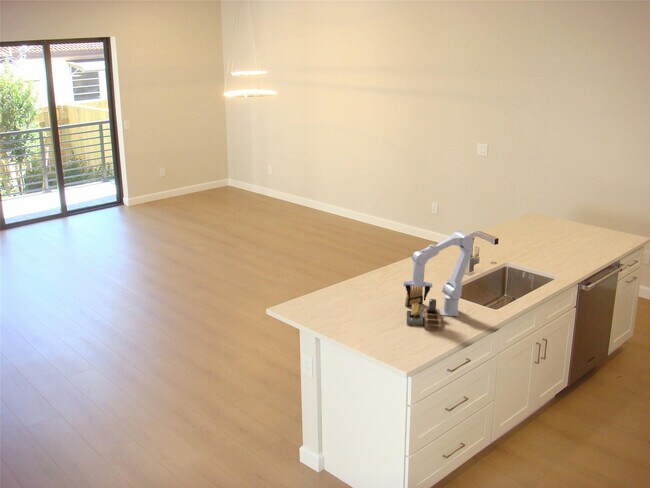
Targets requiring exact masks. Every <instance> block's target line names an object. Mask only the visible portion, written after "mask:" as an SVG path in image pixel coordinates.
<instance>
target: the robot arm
mask: <svg viewBox="0 0 650 488" xmlns="http://www.w3.org/2000/svg"><path fill="white" fill-rule="evenodd" d="M474 242H475V241H474V239H473V238H472V236H470V235H468V234H466V233H465V232H464V231H462V230H456V231H455V232H453V233H452V234H451V235H450V236H448V237H447V238H445V239H444V240H442V241H440V242H439V243H437V244H428V247H426V248H423V249H421V250H417V251H414V252H413V255H412V256H411V260H412V261H413V267H412V280H410V281H408V280H406V281H403V287H405V290H406V294H407V293H408V296H409V300H410V290H411V286H412V287H413V286H416V287H417V288H418V287H423V288H424V292H423V302H424V301H426V298H427V296H428V294H429V292H430V290H431V288H433V282H428V281H425V269H426V264H427V263H428V261H429V260H430V259H432V258H434V257H437V256H438V255H439V253H440V251H443V250H444V249H446V248H449V247H451V246H457V247H459V249H460V253H459V256H458V259H457V261H456V263H455V268H454V270H453V272H452V274H451V277H450V278H449V279H447V280H446V283H445V284H444V285H443V287H442V292H443V293H444V303H443V307H442V316H446V317H447V316H448V317H459V316H460V315H459V300H460V298H461V297H462V293H463V291H462V290H463V287H464V286H463V284H462V281H463V278H464V275H465V273H466V270H467V267H468V265H469V263H470V260H471V257H472V255H473V250H474V246H473V245H474Z"/></svg>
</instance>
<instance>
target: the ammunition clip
mask: <svg viewBox="0 0 650 488" xmlns="http://www.w3.org/2000/svg"><path fill="white" fill-rule="evenodd" d="M410 287H411V290H410V300H409V296H408V293H407V292H406V297H405V303H404V304H405V305H404V307H405V308H412V303H418V304H419V306H420V305H423V303H424V292H423V291H424V290H423V288H424V287H416V286H410Z"/></svg>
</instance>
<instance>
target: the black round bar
mask: <svg viewBox="0 0 650 488" xmlns="http://www.w3.org/2000/svg"><path fill="white" fill-rule="evenodd" d="M428 309H429V313H428V314H435V313H436V309H437V299H435V298H430V299H429V301H428Z"/></svg>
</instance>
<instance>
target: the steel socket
mask: <svg viewBox="0 0 650 488" xmlns="http://www.w3.org/2000/svg"><path fill="white" fill-rule="evenodd" d="M411 313H412V310H407V311H406V326H418V327H419V326H420V327H422V326H424V325H423V324H424V312H423V311H419V315H418V318H411Z"/></svg>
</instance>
